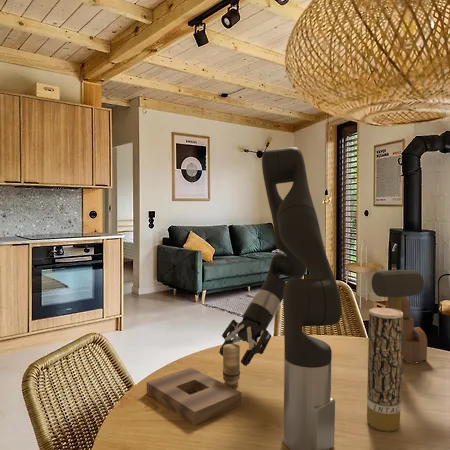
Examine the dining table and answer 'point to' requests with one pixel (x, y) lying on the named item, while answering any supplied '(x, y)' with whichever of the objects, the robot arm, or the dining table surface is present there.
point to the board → (193, 395)
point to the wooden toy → (411, 335)
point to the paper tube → (384, 368)
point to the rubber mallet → (397, 286)
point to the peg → (231, 364)
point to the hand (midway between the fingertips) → (232, 359)
